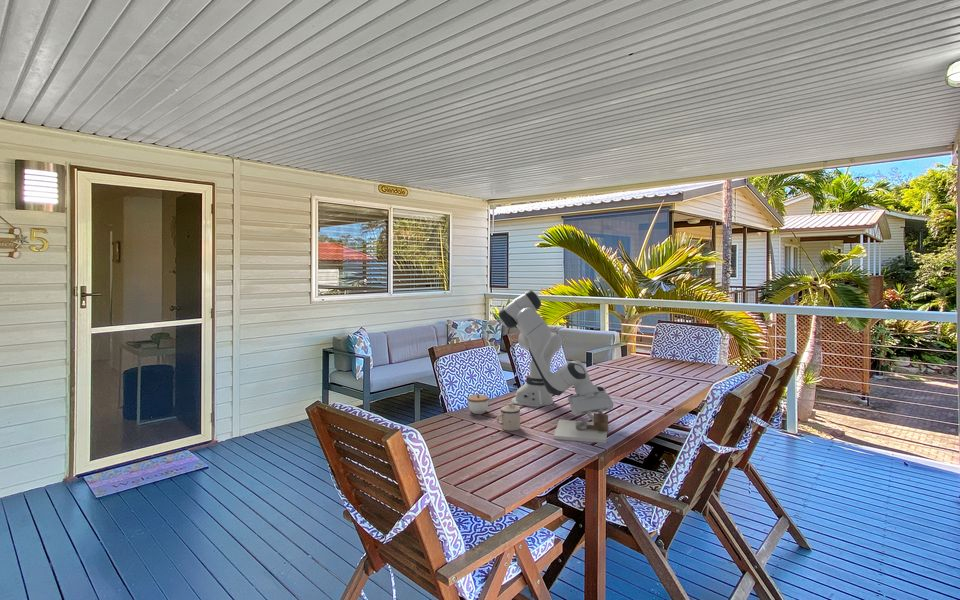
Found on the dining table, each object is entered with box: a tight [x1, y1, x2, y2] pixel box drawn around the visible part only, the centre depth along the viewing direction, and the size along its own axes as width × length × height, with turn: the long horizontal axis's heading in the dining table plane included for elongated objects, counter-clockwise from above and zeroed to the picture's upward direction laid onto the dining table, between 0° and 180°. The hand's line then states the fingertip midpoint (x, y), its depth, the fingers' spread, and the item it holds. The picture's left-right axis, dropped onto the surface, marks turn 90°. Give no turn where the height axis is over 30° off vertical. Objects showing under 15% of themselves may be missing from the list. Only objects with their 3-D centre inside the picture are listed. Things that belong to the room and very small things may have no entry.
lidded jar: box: [467, 393, 490, 415], centre depth 257 cm, size 11×11×9 cm
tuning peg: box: [575, 412, 609, 432], centre depth 223 cm, size 14×5×7 cm, turn 70°
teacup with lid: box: [496, 402, 521, 432], centre depth 231 cm, size 12×9×12 cm
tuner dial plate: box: [553, 419, 608, 444], centre depth 225 cm, size 22×22×2 cm
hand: (598, 420), depth 224 cm, fingers open, 2 cm apart
